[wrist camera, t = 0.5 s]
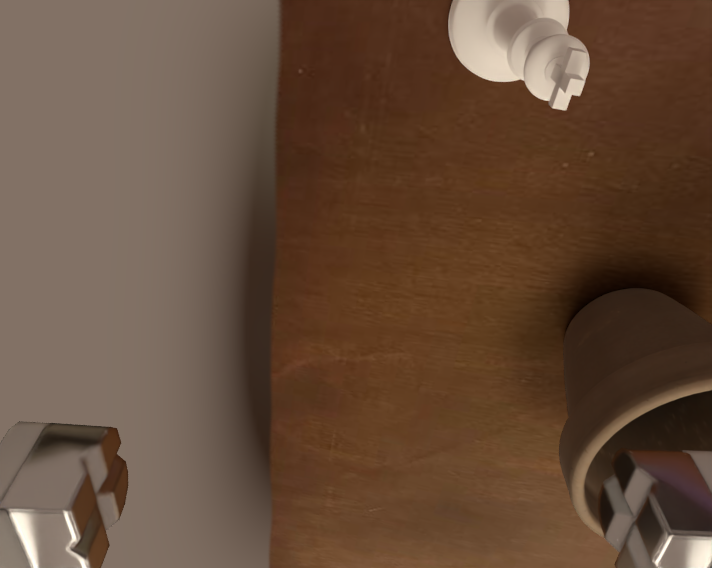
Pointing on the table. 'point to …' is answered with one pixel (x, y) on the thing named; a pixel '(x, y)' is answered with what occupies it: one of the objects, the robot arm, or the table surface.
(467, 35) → the chess piece
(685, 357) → the flower pot
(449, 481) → the table surface
